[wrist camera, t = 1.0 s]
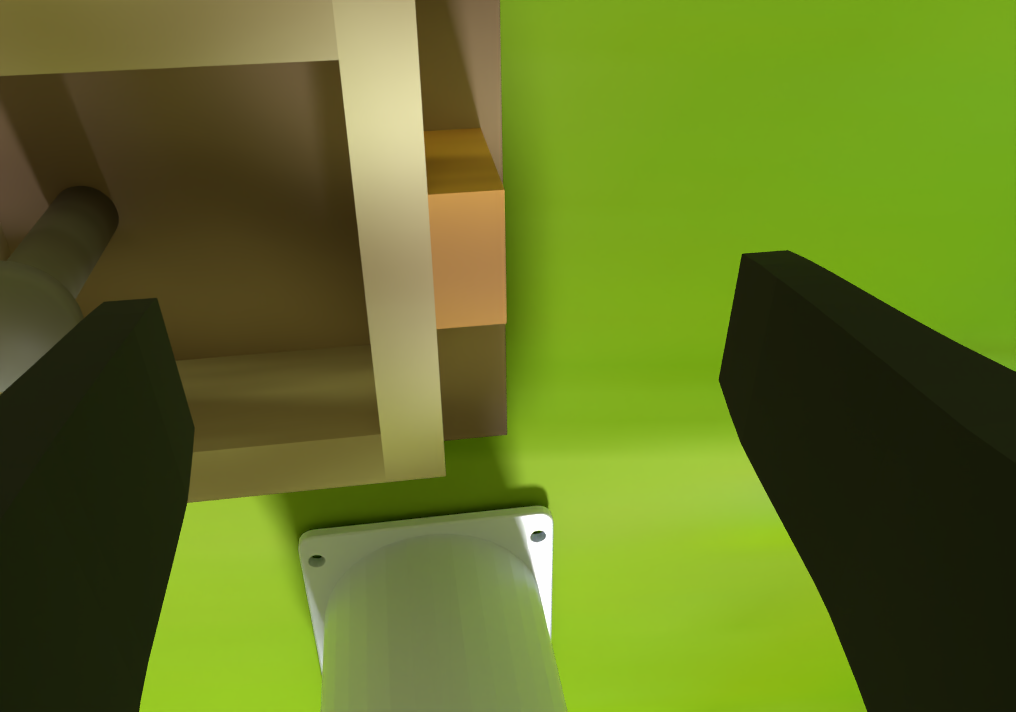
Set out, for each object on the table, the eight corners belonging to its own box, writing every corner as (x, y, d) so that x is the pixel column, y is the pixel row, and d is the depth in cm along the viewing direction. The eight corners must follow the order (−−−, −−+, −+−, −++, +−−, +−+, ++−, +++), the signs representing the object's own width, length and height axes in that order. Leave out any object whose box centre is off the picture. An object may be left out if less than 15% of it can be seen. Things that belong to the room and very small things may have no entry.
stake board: (501, 414, 26) (540, 577, 21) (-70, 468, 24) (-197, 663, 19) (490, -174, 18) (548, -169, 13) (-361, -158, 16) (-732, -144, 11)
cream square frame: (488, 378, 24) (508, 469, 21) (10, 421, 23) (-51, 527, 19) (475, -61, 18) (500, -33, 15) (-169, -40, 17) (-300, -4, 14)
